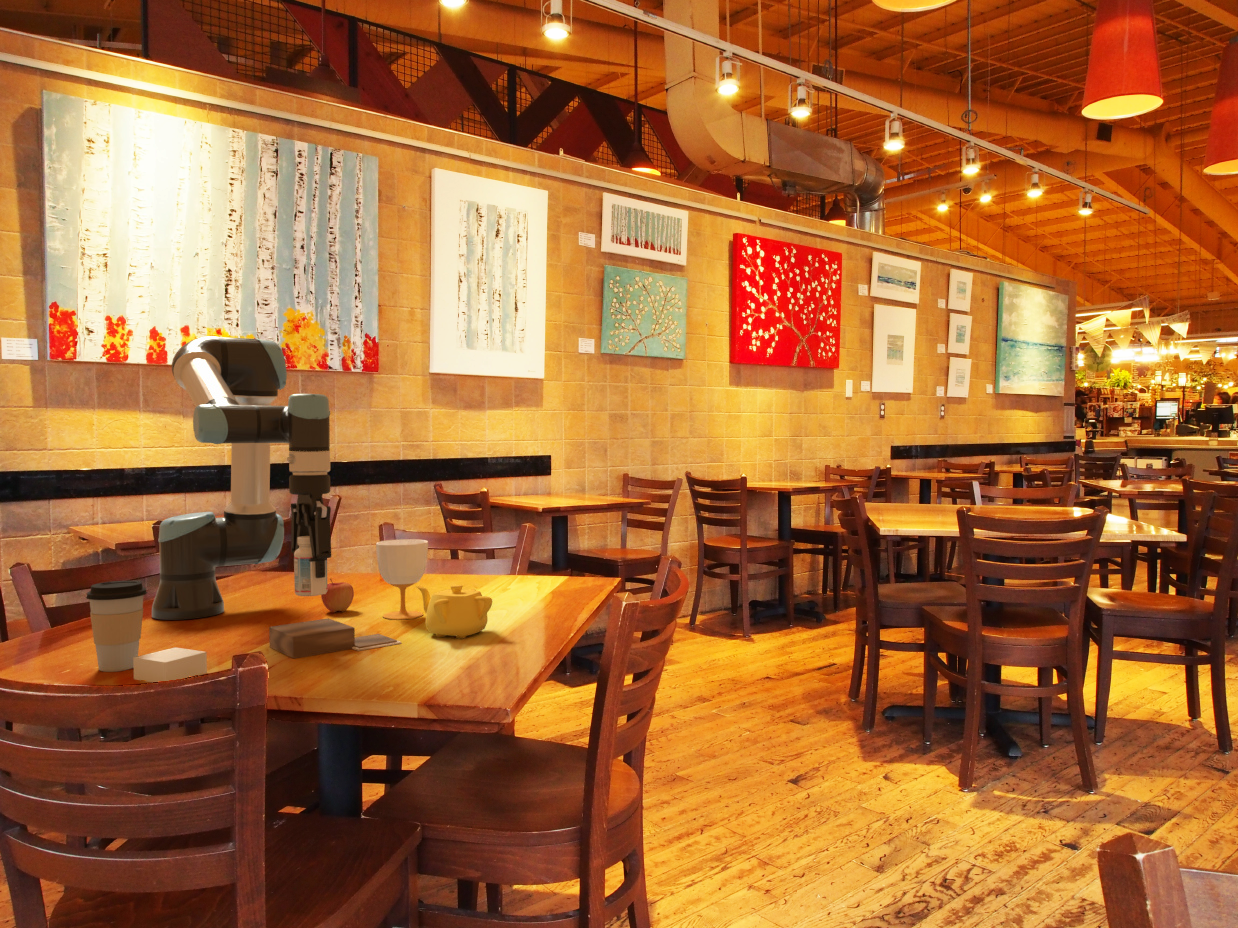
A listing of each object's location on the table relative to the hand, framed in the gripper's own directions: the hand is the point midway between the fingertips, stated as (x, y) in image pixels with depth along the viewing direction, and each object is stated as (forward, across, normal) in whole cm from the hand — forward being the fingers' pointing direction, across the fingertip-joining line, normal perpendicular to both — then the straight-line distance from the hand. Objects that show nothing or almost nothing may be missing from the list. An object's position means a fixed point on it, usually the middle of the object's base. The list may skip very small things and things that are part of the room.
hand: (311, 591), depth 170 cm
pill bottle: (+1, 0, 0) cm, 1 cm away
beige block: (+11, +4, -26) cm, 29 cm away
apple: (+11, -31, +19) cm, 38 cm away
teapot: (+11, +8, +27) cm, 30 cm away
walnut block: (+11, 0, 0) cm, 11 cm away
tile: (+11, +4, +10) cm, 15 cm away
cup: (+11, -16, +28) cm, 34 cm away
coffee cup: (+11, -9, -32) cm, 35 cm away
